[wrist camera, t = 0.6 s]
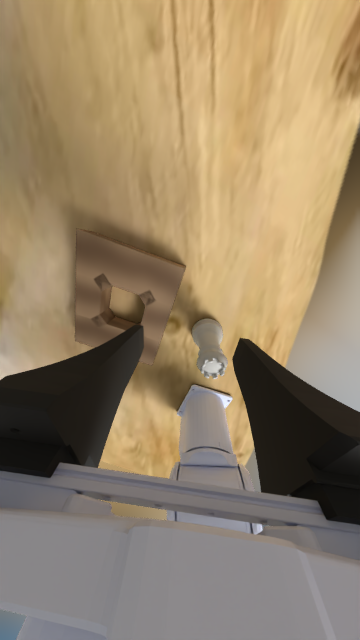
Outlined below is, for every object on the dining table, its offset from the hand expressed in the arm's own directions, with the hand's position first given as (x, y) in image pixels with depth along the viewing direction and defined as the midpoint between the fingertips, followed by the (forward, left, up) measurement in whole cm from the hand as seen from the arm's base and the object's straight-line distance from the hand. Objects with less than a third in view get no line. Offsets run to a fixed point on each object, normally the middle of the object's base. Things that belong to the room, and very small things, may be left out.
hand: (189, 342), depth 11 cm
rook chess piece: (-4, -4, -10) cm, 12 cm away
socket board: (-4, +8, -10) cm, 13 cm away
